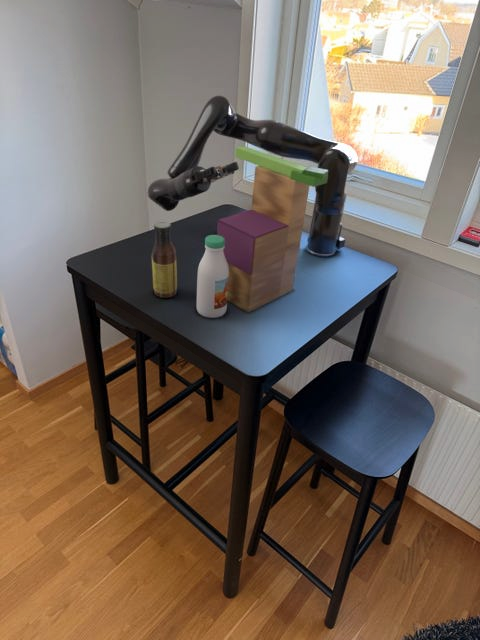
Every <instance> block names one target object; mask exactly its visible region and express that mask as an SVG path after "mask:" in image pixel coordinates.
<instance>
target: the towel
mask: <svg viewBox="0 0 480 640" xmlns="http://www.w3.org/2000/svg"><path fill="white" fill-rule="evenodd" d="M287 226H288V225H286V224H284V223H282V222H279V221H277V220H275V219H272V218H270V217H268V216H266V215H263V214H261V213H259V212H256V211H254V210H252V209H248V210H246V211H242V212H239V213H236V214H235V213H234V214H232V215H229V216H225V217H222V218H219V219H217V226H216V227H217V228H216V235H219V236H222V237H223V238H224V239H225V245H224V249H223V252H224V256H225V258H226V261H227V263H229V264H231V265H233V266H235V267H237V268H238V269H240V270H242V271H244V272H246V273H248V274H249V275H251V272H252V262H253V252H254V242H255V238H257V237H260V236H263V235H266V234H268V233H271V232H274V231H276V230H279V229H282V228H285V227H287Z"/></svg>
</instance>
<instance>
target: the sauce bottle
mask: <svg viewBox="0 0 480 640" xmlns="http://www.w3.org/2000/svg"><path fill="white" fill-rule="evenodd" d="M153 230H154V235H155V238H154V244H153V247H152V250H151V271H152V273H151V274H152V288H153V292H154V294H155V296H156V297H159V298H162V299H169V298H172V297H174V296H176V294H177V291H178V290H177V289H178V274H177V273H178V269H177V268H178V267H177V254H176V253H177V251H176V247H175V244H174V243H173V242H172V236H171V234H172V233H171V231H172V224H171V222H169V221H166V220H161V221H156V222H154V224H153Z"/></svg>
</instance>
